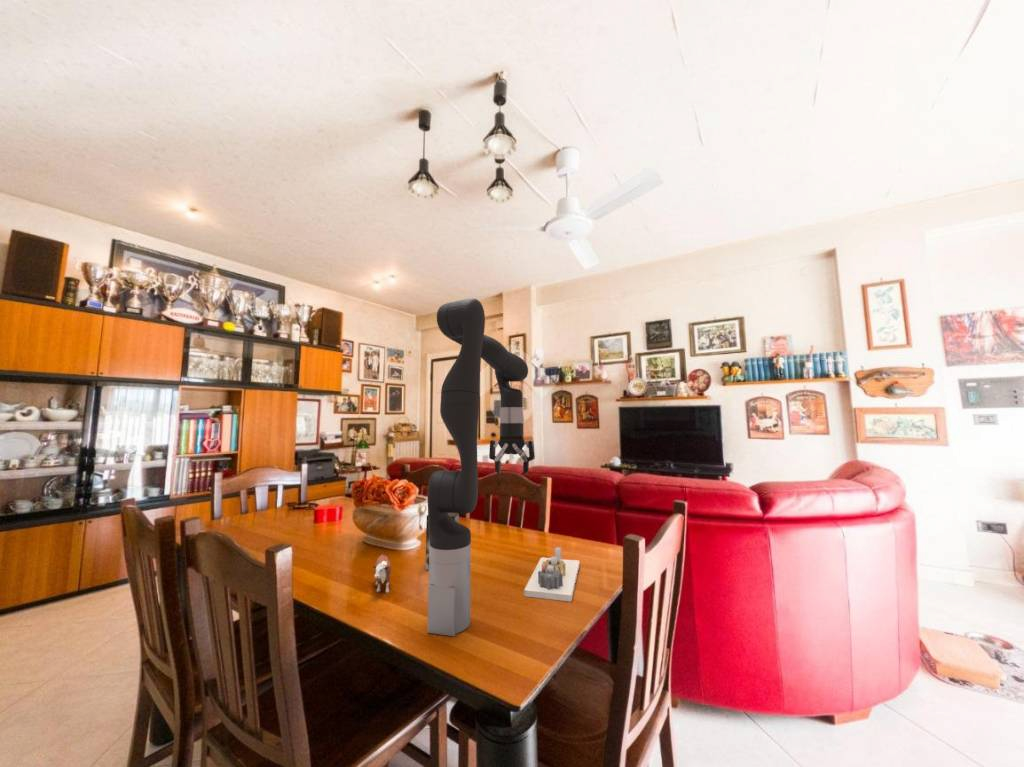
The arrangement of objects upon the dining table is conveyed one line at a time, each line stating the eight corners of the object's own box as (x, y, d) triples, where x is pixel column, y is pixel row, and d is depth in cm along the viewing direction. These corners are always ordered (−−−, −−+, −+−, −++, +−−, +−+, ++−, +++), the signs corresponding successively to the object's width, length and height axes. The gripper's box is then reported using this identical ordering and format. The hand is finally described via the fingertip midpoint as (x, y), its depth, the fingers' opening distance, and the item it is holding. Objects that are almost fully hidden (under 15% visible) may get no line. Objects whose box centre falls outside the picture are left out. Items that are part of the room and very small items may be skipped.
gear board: (571, 601, 94) (570, 574, 94) (524, 596, 97) (523, 569, 97) (579, 565, 117) (579, 544, 118) (541, 562, 120) (540, 541, 121)
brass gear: (564, 579, 103) (563, 568, 103) (540, 577, 105) (540, 566, 105) (566, 570, 109) (566, 559, 110) (545, 568, 111) (544, 558, 111)
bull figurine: (371, 601, 95) (372, 567, 95) (375, 579, 108) (376, 549, 108) (389, 599, 96) (390, 565, 97) (391, 577, 109) (392, 548, 110)
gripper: (486, 422, 119) (486, 474, 117) (531, 421, 115) (531, 476, 113) (493, 421, 126) (493, 471, 124) (535, 421, 122) (536, 472, 121)
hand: (511, 473), depth 119 cm, fingers open, 8 cm apart
